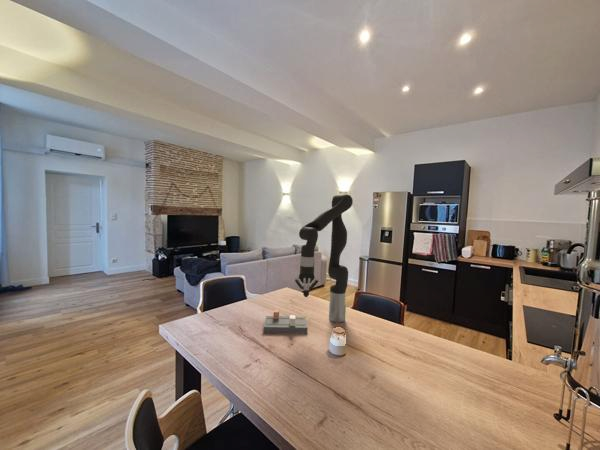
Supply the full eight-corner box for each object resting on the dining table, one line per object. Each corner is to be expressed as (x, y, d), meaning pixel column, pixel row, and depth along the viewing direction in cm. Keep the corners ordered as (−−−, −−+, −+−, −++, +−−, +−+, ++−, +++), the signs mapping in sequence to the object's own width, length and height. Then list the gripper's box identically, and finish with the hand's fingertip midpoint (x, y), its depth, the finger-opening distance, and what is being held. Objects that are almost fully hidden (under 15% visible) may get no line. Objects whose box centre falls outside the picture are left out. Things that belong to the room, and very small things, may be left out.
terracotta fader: (279, 316, 144) (279, 309, 144) (278, 319, 140) (279, 312, 140) (273, 315, 144) (274, 309, 144) (273, 319, 140) (273, 312, 140)
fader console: (305, 321, 146) (305, 316, 146) (307, 333, 132) (307, 327, 132) (265, 320, 145) (266, 315, 145) (263, 332, 131) (263, 326, 131)
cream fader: (295, 322, 137) (295, 315, 137) (295, 326, 132) (295, 318, 132) (289, 322, 137) (289, 315, 136) (289, 325, 132) (289, 318, 132)
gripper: (318, 263, 137) (317, 294, 138) (294, 262, 137) (293, 294, 137) (320, 266, 130) (319, 299, 131) (295, 265, 129) (293, 298, 130)
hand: (305, 296), depth 134 cm, fingers closed
